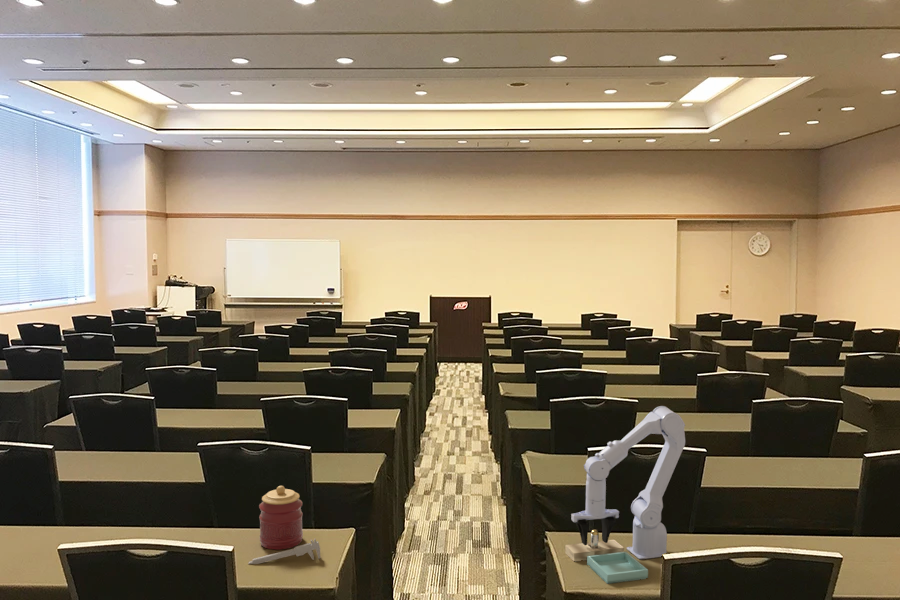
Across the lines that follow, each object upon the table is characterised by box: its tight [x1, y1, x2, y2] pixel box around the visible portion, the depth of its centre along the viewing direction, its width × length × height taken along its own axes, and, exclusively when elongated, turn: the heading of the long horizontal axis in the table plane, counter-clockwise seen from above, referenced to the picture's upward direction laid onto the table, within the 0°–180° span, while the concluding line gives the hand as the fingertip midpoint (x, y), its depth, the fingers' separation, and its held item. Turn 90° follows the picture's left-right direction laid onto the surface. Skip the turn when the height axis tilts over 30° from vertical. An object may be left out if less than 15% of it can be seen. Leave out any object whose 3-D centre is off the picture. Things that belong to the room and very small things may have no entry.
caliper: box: [248, 538, 321, 565], centre depth 217 cm, size 21×1×6 cm, turn 101°
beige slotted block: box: [564, 539, 625, 562], centre depth 222 cm, size 16×6×2 cm, turn 106°
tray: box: [586, 551, 649, 585], centre depth 211 cm, size 12×12×2 cm
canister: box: [258, 485, 304, 550], centre depth 230 cm, size 13×13×18 cm
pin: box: [590, 529, 600, 549], centre depth 222 cm, size 2×2×8 cm
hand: (594, 542), depth 222 cm, fingers open, 6 cm apart
